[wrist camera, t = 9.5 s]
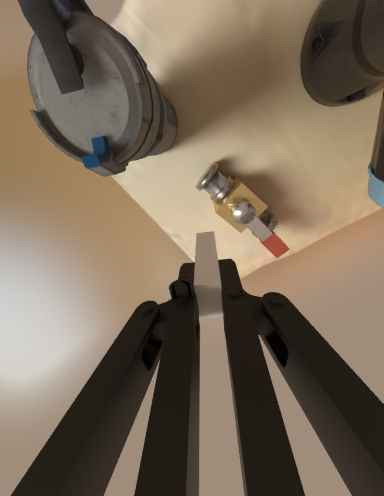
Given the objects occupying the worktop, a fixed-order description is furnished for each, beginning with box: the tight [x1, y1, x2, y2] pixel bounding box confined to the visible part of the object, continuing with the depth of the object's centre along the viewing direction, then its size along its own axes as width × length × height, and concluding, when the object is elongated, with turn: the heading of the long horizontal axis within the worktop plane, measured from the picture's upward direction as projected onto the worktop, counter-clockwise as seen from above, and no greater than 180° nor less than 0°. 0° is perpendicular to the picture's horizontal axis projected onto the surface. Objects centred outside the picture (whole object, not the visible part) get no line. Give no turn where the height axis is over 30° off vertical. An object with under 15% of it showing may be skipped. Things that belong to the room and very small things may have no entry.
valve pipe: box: [196, 162, 277, 238], centre depth 37 cm, size 18×7×8 cm, turn 52°
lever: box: [232, 200, 290, 258], centre depth 34 cm, size 14×4×2 cm, turn 48°
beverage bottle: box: [18, 0, 178, 176], centre depth 22 cm, size 10×13×25 cm
